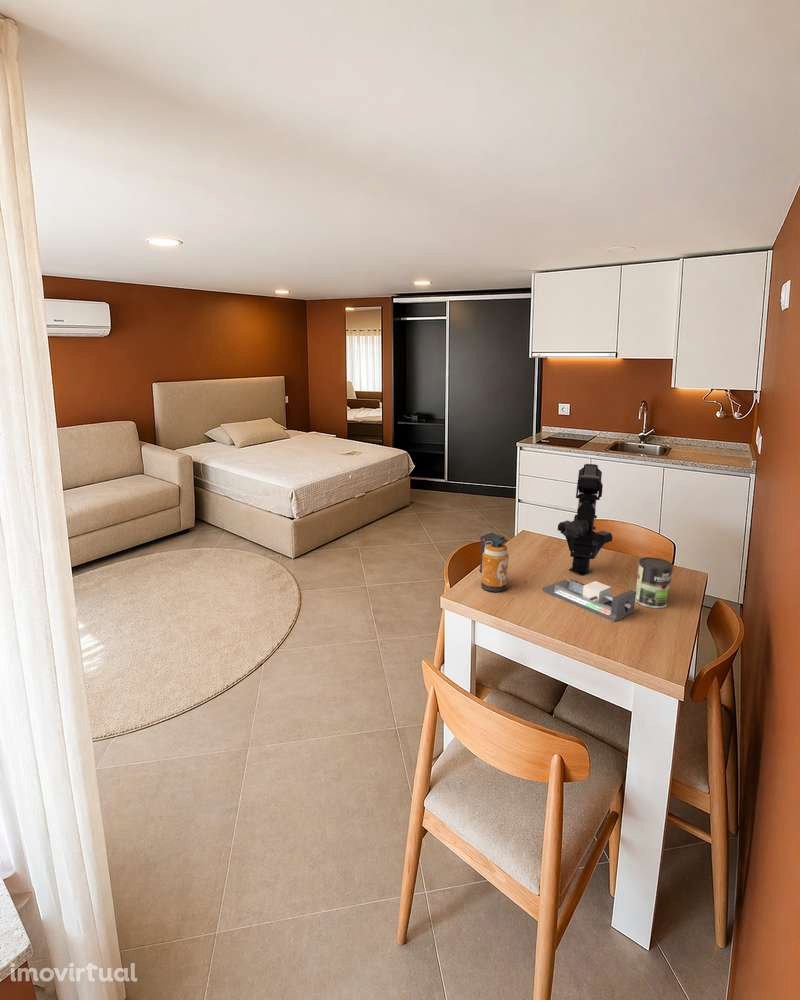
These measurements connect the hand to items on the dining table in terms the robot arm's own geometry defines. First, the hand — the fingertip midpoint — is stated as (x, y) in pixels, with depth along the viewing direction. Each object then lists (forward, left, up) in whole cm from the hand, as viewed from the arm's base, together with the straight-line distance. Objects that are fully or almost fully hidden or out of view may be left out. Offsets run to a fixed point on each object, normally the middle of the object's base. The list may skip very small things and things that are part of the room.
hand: (582, 554), depth 193 cm
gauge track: (+8, +9, -12) cm, 17 cm away
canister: (+26, -18, -12) cm, 34 cm away
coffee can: (-9, +22, -12) cm, 27 cm away
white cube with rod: (+9, +17, -10) cm, 22 cm away
